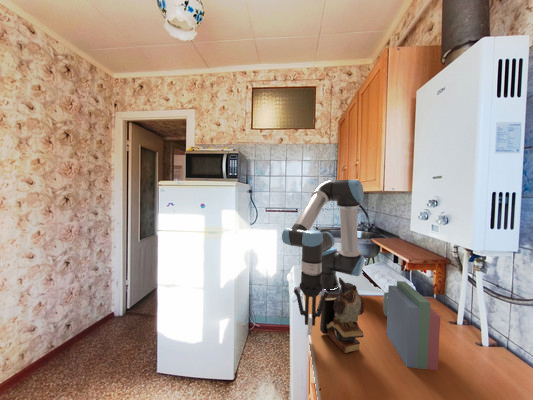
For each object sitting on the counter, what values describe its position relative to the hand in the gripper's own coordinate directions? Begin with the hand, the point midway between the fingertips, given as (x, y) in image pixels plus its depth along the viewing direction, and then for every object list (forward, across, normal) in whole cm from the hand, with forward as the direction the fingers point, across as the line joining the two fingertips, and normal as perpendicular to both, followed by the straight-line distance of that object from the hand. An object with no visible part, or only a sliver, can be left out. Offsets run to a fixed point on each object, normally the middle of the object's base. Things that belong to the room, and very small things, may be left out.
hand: (309, 332), depth 81 cm
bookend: (+3, +12, 0) cm, 12 cm away
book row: (+2, +35, 0) cm, 35 cm away
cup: (+2, +38, +21) cm, 44 cm away
